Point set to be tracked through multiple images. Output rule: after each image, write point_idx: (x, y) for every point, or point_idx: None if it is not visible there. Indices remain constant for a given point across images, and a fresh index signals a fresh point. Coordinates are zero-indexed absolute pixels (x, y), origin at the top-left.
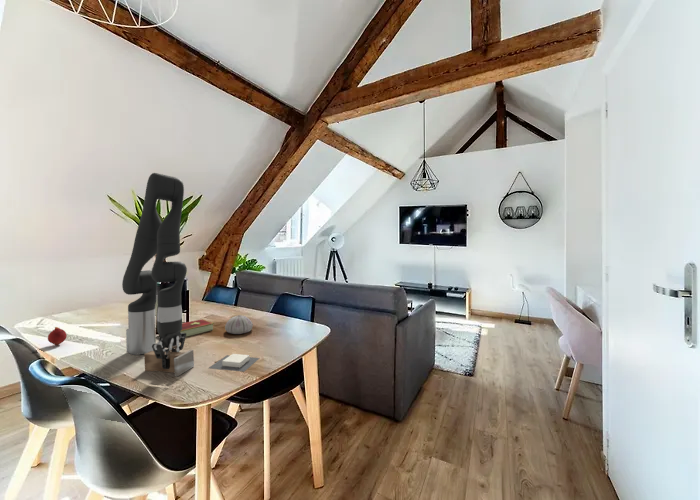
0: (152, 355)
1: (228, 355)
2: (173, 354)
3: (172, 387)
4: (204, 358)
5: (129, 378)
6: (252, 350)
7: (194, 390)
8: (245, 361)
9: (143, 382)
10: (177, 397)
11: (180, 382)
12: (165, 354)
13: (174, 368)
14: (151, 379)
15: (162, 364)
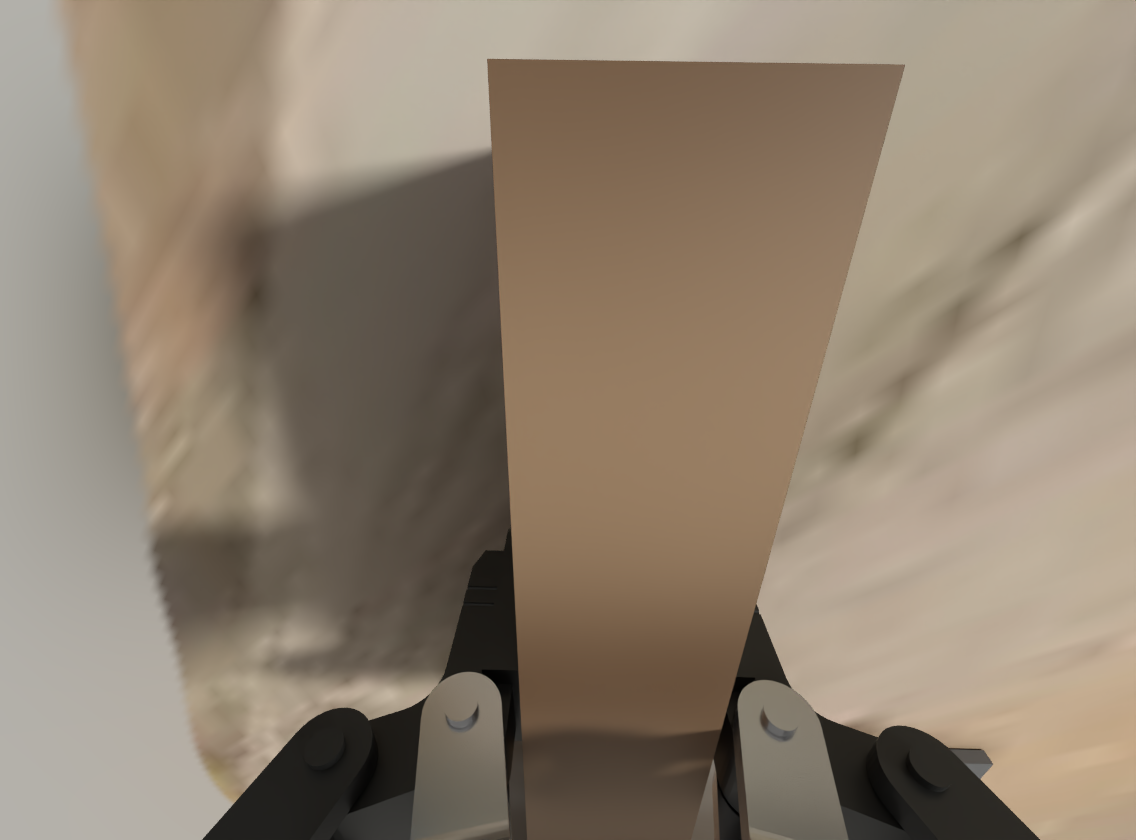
0: (511, 439)
1: (981, 772)
2: (571, 825)
3: (331, 688)
4: (974, 624)
5: (228, 113)
6: (1088, 829)
7: None
8: None
9: (263, 426)
10: (252, 762)
11: (419, 692)
12: (555, 727)
13: None
14: (358, 455)
15: (466, 599)
